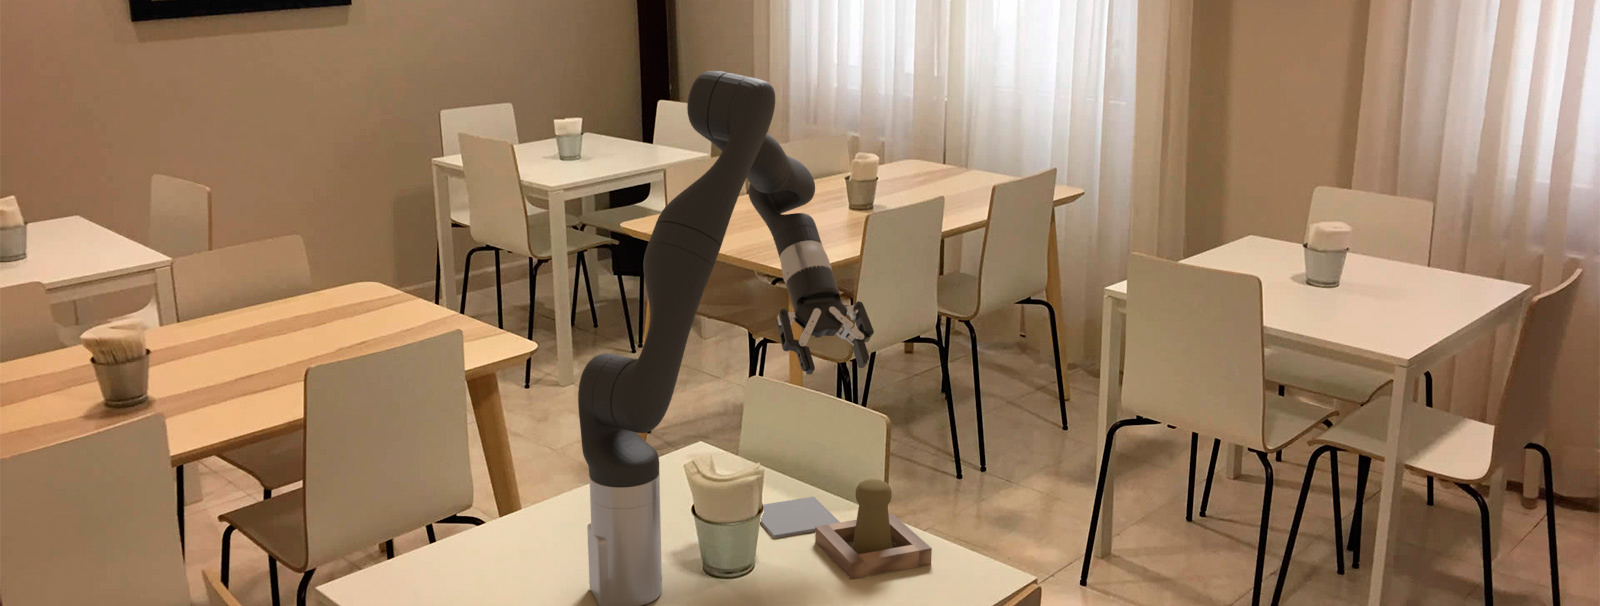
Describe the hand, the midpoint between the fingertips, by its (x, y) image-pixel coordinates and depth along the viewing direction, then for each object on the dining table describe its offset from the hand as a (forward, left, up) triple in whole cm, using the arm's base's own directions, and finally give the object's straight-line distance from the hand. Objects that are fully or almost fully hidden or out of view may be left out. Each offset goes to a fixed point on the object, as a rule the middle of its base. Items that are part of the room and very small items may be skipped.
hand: (837, 368), depth 193 cm
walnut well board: (0, -13, -24) cm, 27 cm away
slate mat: (-6, +2, -24) cm, 25 cm away
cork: (0, -13, -24) cm, 28 cm away
